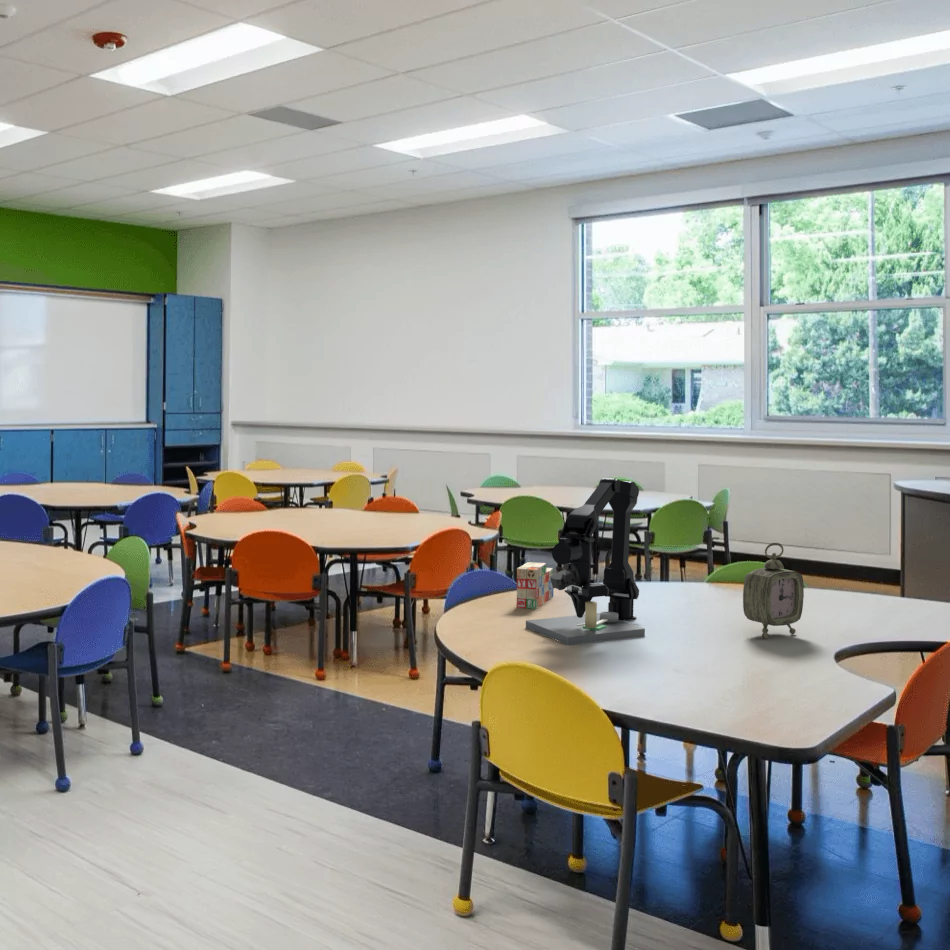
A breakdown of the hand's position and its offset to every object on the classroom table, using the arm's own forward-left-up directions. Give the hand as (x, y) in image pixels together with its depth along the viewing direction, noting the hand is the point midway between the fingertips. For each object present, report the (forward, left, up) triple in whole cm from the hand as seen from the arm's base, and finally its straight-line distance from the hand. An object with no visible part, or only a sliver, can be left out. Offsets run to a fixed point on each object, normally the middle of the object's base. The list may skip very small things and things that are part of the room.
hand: (579, 617), depth 274 cm
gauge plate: (-2, -1, -5) cm, 5 cm away
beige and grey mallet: (-6, +1, -2) cm, 6 cm away
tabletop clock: (-46, +23, -5) cm, 52 cm away
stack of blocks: (-11, -43, -5) cm, 45 cm away
